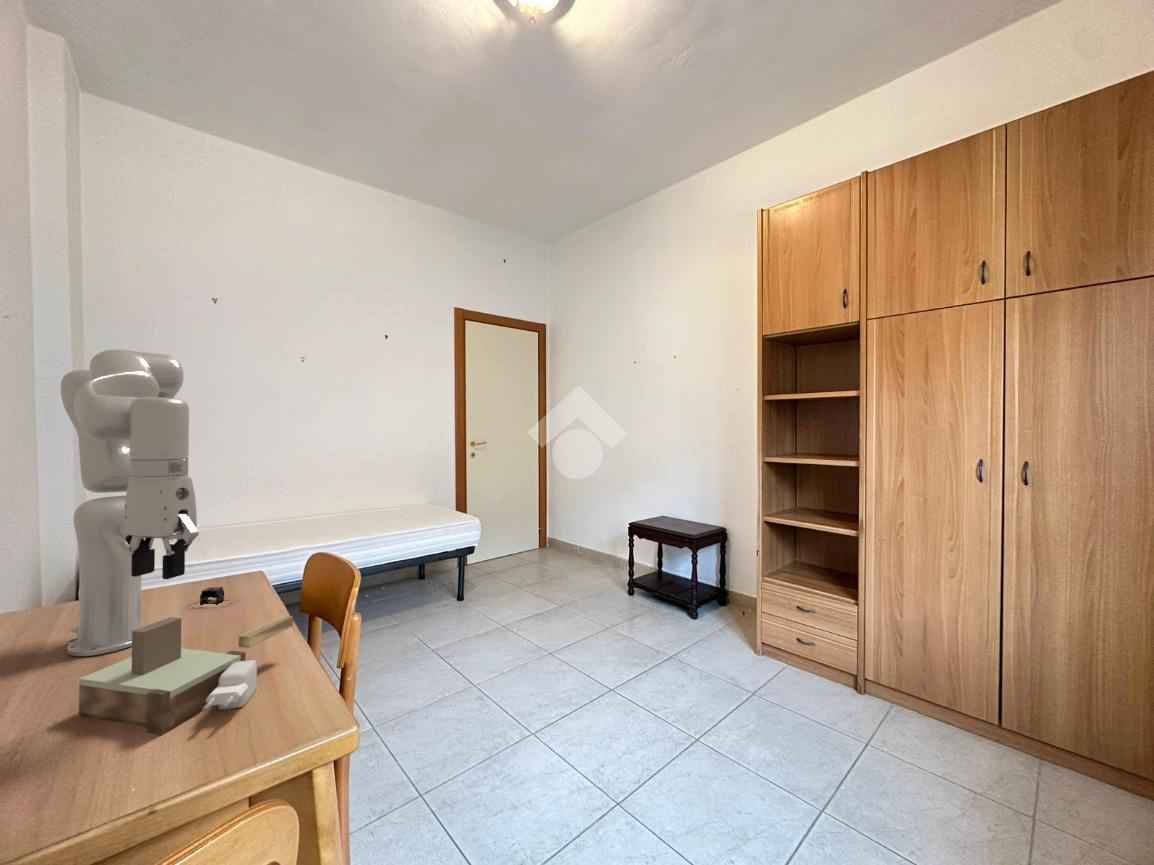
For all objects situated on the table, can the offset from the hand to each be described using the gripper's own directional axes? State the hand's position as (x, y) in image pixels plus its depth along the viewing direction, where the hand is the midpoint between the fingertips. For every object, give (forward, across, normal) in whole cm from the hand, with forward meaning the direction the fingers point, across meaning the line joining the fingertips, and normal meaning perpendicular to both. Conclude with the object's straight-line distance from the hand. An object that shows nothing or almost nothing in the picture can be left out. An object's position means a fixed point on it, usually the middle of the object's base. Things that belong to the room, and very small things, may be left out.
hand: (158, 574), depth 79 cm
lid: (+17, -2, 0) cm, 17 cm away
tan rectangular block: (+15, -9, -13) cm, 22 cm away
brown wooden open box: (+22, -2, 0) cm, 22 cm away
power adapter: (+22, -15, 0) cm, 26 cm away
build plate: (+22, +34, -39) cm, 56 cm away
